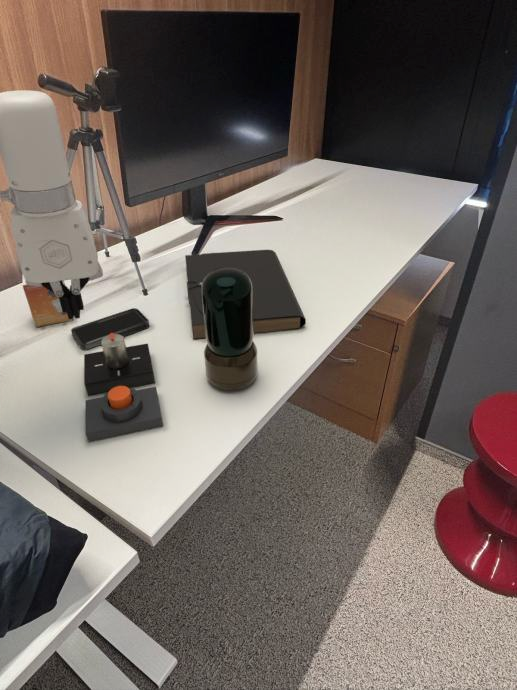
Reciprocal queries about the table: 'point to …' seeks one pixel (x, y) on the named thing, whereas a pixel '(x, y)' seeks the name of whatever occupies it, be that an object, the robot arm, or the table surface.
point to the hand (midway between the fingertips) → (74, 314)
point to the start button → (119, 397)
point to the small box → (44, 305)
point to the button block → (122, 415)
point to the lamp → (229, 329)
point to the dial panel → (118, 371)
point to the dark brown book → (268, 289)
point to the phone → (109, 327)
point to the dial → (115, 351)
